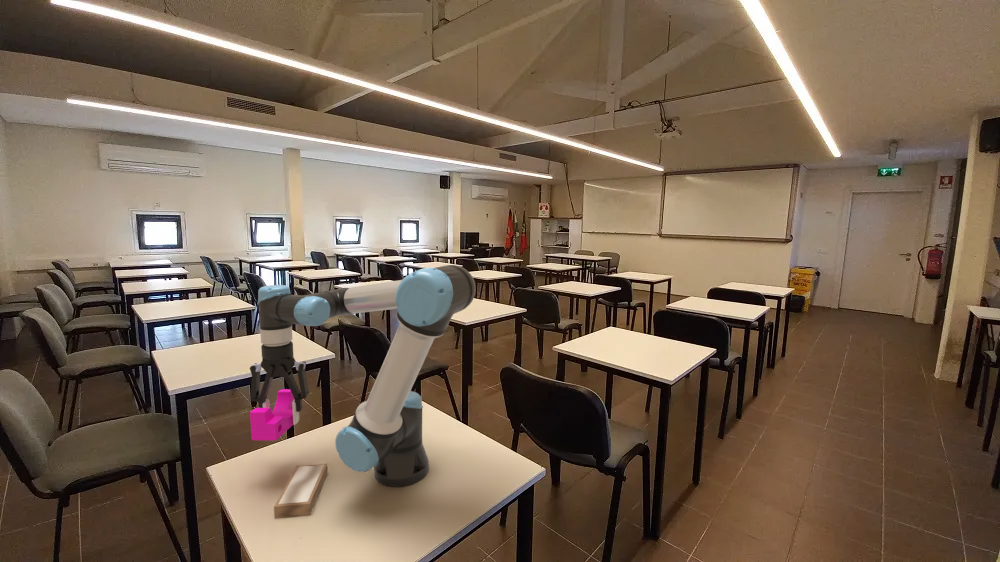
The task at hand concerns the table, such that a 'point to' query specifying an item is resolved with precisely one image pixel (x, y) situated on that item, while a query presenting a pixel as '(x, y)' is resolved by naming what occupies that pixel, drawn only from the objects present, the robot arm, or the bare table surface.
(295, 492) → the base slab
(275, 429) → the magenta bracket
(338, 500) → the table surface
